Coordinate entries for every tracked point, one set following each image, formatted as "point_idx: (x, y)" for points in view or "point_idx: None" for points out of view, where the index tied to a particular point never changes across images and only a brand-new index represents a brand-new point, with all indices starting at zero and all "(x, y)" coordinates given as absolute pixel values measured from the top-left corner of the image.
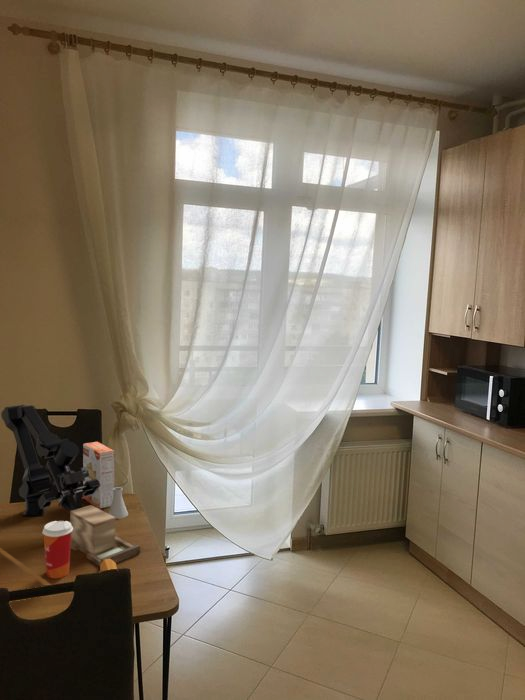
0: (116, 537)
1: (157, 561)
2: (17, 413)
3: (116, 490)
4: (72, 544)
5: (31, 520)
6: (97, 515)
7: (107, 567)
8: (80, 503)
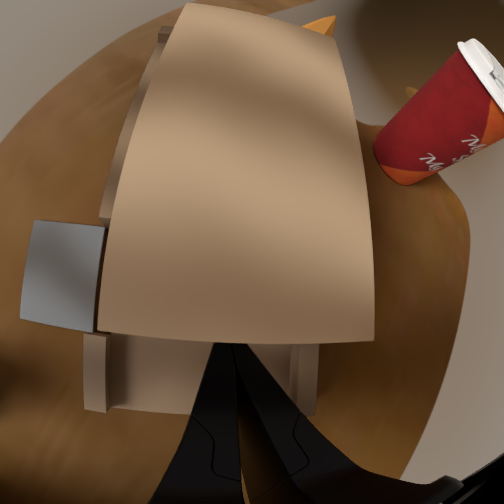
0: (126, 137)
1: (161, 19)
2: None
3: None
4: None
5: None
6: (247, 72)
7: (324, 32)
8: (203, 432)
